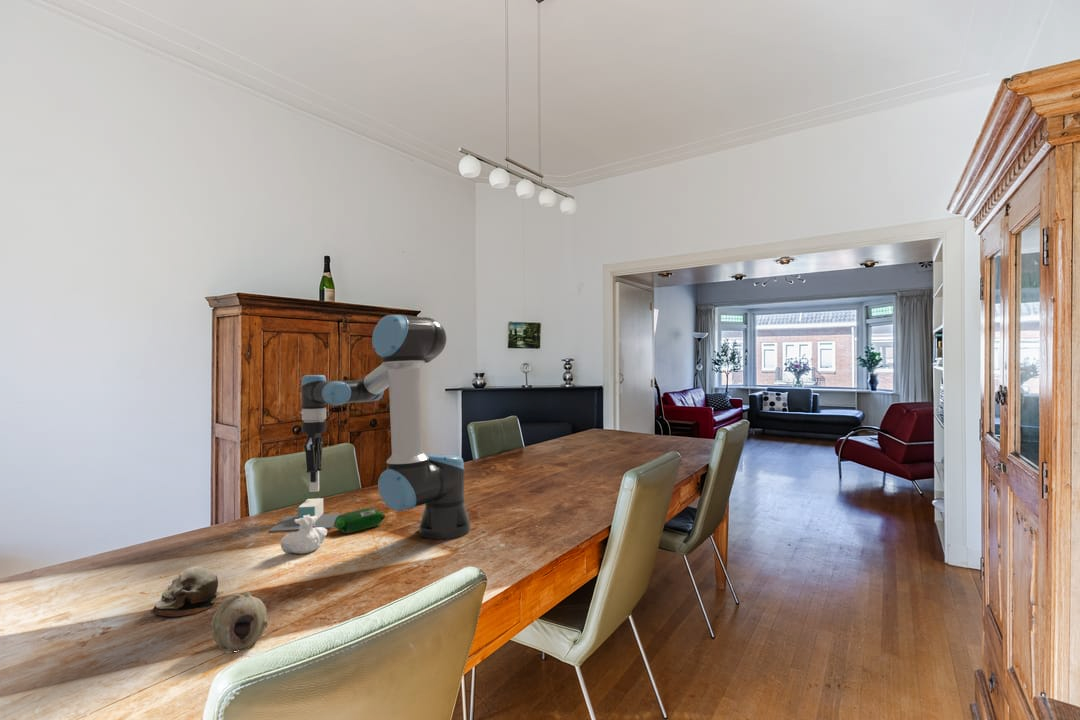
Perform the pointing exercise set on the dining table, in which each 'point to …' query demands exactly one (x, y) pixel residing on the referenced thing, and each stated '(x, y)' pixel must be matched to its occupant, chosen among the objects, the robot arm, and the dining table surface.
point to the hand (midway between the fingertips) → (314, 491)
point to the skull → (189, 593)
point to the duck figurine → (304, 536)
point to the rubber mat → (291, 525)
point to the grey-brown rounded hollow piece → (239, 622)
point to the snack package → (358, 520)
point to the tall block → (311, 508)
